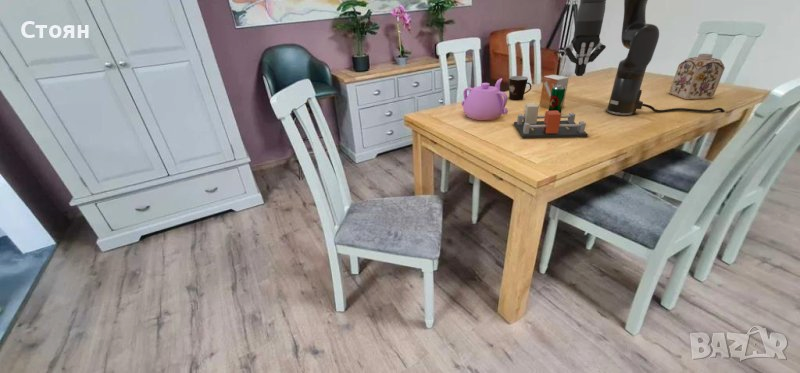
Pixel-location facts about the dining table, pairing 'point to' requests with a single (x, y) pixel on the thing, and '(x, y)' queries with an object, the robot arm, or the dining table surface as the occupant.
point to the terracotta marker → (552, 121)
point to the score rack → (565, 131)
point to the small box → (547, 88)
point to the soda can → (557, 98)
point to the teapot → (485, 102)
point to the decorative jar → (697, 77)
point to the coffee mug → (517, 87)
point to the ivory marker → (531, 113)
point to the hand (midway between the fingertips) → (579, 75)
